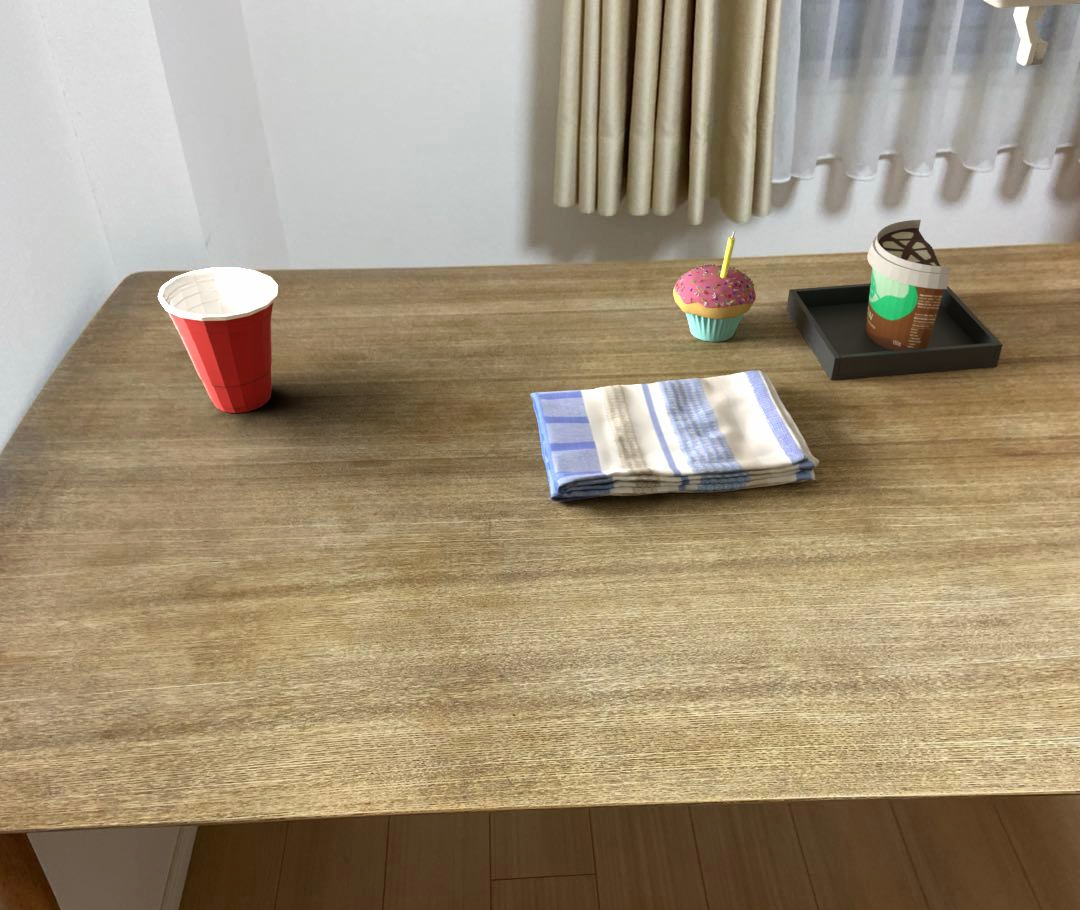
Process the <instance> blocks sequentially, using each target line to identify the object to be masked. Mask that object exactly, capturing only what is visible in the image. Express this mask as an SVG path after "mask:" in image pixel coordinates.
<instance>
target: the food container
mask: <svg viewBox="0 0 1080 910" xmlns="http://www.w3.org/2000/svg"><path fill="white" fill-rule="evenodd" d="M921 221H922V220H921V219H910V220H909V219H908V220H903V221H897V222H894V223H890V224H889V225H886V226H885V227H883V228H881V230H879V231H878V233H877V235H876V236H875V237H874V238H873V241H872V243H871V245H870V248H869V250H868V252H867V257H866V259H867V262H868V264H869V265H870V267H871V268H872V269H871V277H870V283H871V286H870V294H869V303H868V312H867V321H866V329H865V330H866V333H867V335H868V336H869V337H870V339H871V340H873V341H874V342H875V343H877V344H879V345H881V346H883V347H885V348H888V349H891V350H894V351H897V350H909V349H922V348H927V347H928V343H929V340H930V336H931V333H932V329H933V326H934V323H935V319H936V316H937V312H938V309H939V305H940V302H941V299H942V295H943V292H944V289H947V286H948V287H949V280H950V276H951V275H950V270H951V266H945V265H944V266H941V264H940V263H939V260H938V258H937V256H936V252H935V250H934V248H933V246H932V245H931V244H930V243H929V242H928V241H927V240H926V239H925V238H924V236H923V234H922V233H921V232H920V226H921Z"/></svg>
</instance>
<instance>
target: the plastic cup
mask: <svg viewBox="0 0 1080 910" xmlns="http://www.w3.org/2000/svg"><path fill="white" fill-rule="evenodd" d="M278 291H279V284H277V282H276V280H274V279H273V277H271V276H270V275H267V274H265V273H262V272H260V271H258V270H254V269H249V268H243V267H242V268H241V267H236V266H235V267H231V266H230V267H229V266H228V267H226V266H225V267H208V268H203V269H197V270H192V271H189V272H188V271H187V272H186V273H183V274H180V275H177V276H175V277H172V278H171V279H170V280H169V281H167V282H165V283H164V284H163V285H161V287H160V288H159V290H158V295H157V298H158V301H159V302H160V304H161V306H162V307H163V308H164V310H165V311H166V312H167V313H168V315H169V318H170V319H171V320H172V323H173V325H174V328H175V329H176V330H177V332H178V334H179V337H180V339H181V341H182V343H183V345H184V347H185V349H186V352H187V354H188V356H189V358H190V361H191V362H192V364H193V367H194V369H195V371H196V373H197V375H198V377H199V379H200V380H201V381H202V384H203V386H204V388H205V390H206V392H207V395H208V396H209V398H210V400H211V402H212V403H213V405H214V406H215V407H216V409H217V410H220V411H222V412H224V413H233V414H240V413H247V412H251V411H254V410H258V409H259V408H261V407H262V406H264V405H265V404H267V403H268V401H270V399H271V397H272V396H271V395H272V389H273V381H272V379H273V377H272V365H273V364H272V363H273V360H272V359H273V356H272V354H273V352H272V315H273V307H274V303H275V301H276V300H277V298H278Z"/></svg>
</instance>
